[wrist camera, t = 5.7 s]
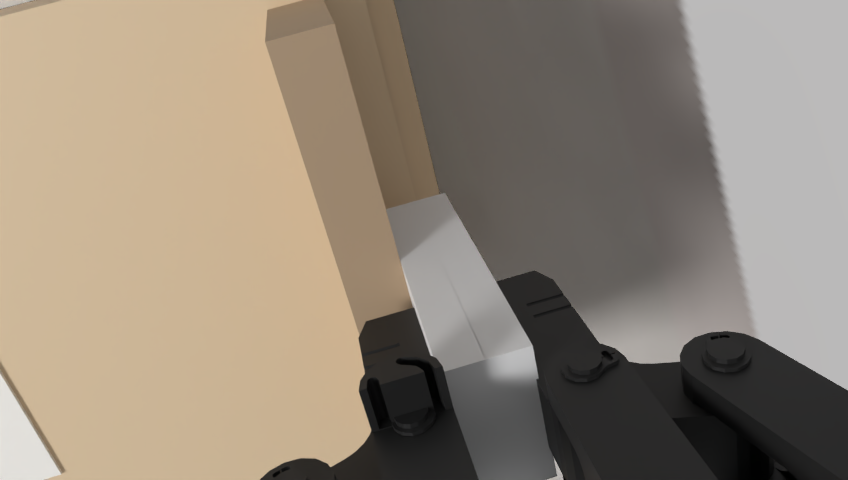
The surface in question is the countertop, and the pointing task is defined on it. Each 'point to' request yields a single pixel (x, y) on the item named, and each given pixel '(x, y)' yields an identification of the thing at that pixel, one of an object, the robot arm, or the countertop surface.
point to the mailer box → (398, 88)
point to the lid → (191, 235)
